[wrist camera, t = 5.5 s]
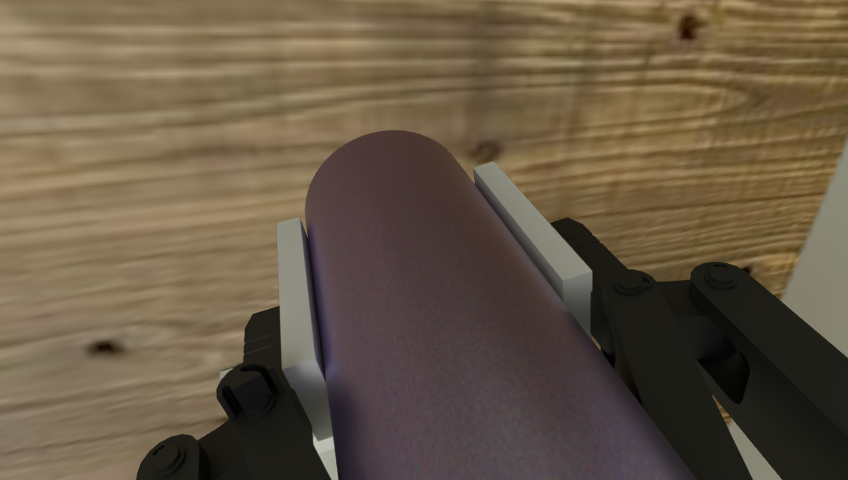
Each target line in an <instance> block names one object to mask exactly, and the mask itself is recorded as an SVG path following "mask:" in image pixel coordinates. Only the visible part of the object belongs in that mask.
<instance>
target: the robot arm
mask: <svg viewBox="0 0 848 480" xmlns="http://www.w3.org/2000/svg"><path fill="white" fill-rule="evenodd" d="M473 173H474V180H475V186H476V187H477V188H478V190H479V191H480V192H481V194H482V195H483V196H484V198H485V199H486V200H487V202H488V203H489V204H490V205H491V207H492V208H493V209H494V211H495V212H496V213H497V215H498V216H499V217H500V219H501V220H502V221H503V223H504V224H505V225H506V227H507V228H508V229H509V231H510V232H511V233H512V235H513V236H514V237H515V239H516V240H517V241H518V243H519V244H520V245H521V247H522V248H523V249H524V251H525V252H526V253H527V255H528V256H529V257H530V259H531V260H532V261H533V263H534V264H535V265H536V267H537V268H538V269H539V270H540V272H541V273H542V274H543V276H544V277H545V278H546V280H547V281H548V282H549V284H550V285H551V286H552V288H553V289H554V290H555V292H556V293H557V294H558V296H559V297H560V298H561V300H562V301H563V302H564V304H565V305H566V306H567V308H568V309H569V310H570V312H571V313H572V314H573V316H574V317H575V318H576V320H577V321H578V322H579V324H580V325H581V326H582V328H583V329H584V330H585V332H586V333H587V334H588V336H589V337H590V338H591V339H592V336H593V337H594V338H595V339H596V341H597V342H598V343H599V345H600V346H601V353H602V354H603V355H604V357H605V358H606V359H607V361H608V362H609V363H610V365H611V366H612V367H613V369H614V370H615V371H616V373H617V374H618V375H619V377H620V378H621V379H622V381H623V382H624V383H625V385H626V386H627V387H628V389H629V390H630V391H631V393H632V394H633V395H634V397H635V398H636V399H637V401H638V402H639V403H640V405H641V406H642V407H643V408H644V410H645V411H646V412H647V414H648V415H649V416H650V418H651V419H652V420H653V422H654V423H655V424H656V426H657V427H658V428H659V430H660V431H661V432H662V434H663V435H664V436H665V438H666V439H667V440H668V442H669V443H670V444H671V446H672V447H673V448H674V450H675V451H676V452H677V454H678V455H679V456H680V458H681V459H682V460H683V462H684V463H685V464H686V466H687V467H688V468H689V470H690V471H691V472H692V473H693V475H694V476H695V477H696V479H697V480H753V479H752V477H751V475H750V473H749V471H748V469H747V467H746V465H745V463H744V461H743V459H742V456H741V454H740V452H739V450H738V448H737V446H736V444H735V442H734V440H733V438H732V436H731V434H730V432H729V430H728V427H727V425H726V423H725V421H724V419H723V417H722V415H721V413H720V411H719V409H718V407H717V405H716V403H715V401H714V399H713V397H712V395H713V396H714V397H715V398H716V400H717V401H718V402H719V403H720V404H721V406H722V407H723V408H724V409H725V411H726V412H727V413H728V414H729V415H730V417H731V418H732V419H733V420H734V422H735V423H736V424H737V425H738V426H739V428H740V429H741V430H742V431H743V432H744V434H745V435H746V436H747V437H748V439H749V440H750V441H751V442H752V443H753V445H754V446H755V447H756V448H757V449H758V451H759V452H760V453H761V454H762V456H763V457H764V458H765V459H766V460H767V462H768V463H769V464H770V465H771V467H772V468H773V469H774V470H775V471H776V473H777V474H778V475H779V476H780V478H781V479H782V480H848V358H847V357H846V356H845V355H844V354H843V353H841V352H840V351H839V350H838V349H837V348H835V347H834V346H833V345H832V344H831V343H830V342H828V341H827V340H826V339H825V338H823V337H822V336H821V335H820V334H819V333H818V332H817V331H815V330H814V329H813V328H812V327H811V326H809V325H808V324H807V323H806V322H805V321H803V320H802V319H801V318H800V317H799V316H798V315H796V314H795V313H794V312H793V311H792V310H791V309H789V308H788V307H787V306H786V305H785V304H783V303H782V302H781V301H780V300H779V299H778V298H776V297H775V296H774V295H773V294H772V293H770V292H769V291H768V290H767V289H766V288H765V287H763V286H762V285H761V284H760V283H759V282H757V281H756V280H755V279H754V278H753V277H752V276H750V275H749V274H748V273H747V272H745V271H744V270H742V269H740V268H739V267H737V266H734V265H731V264H728V263H720V262H710V263H703V264H701V265H699V266H697V267H695V268H694V270H693V271H692V272H691V277H690V280H683V281H669V282H657V281H655V280H654V278H653V277H652V276H650V275H648V274H646V273H644V272H641V271H638V270H634V269H627V268H626V267H625V266H624V265H623V264H622V263H621V262H620V261H619V260H618V259H617V258H616V257H615V256H614V255H613V254H612V253H611V252H610V251H609V250H608V249H607V248H606V247H605V246H604V245H603V244H602V243H600V241H599V240H598V239H597V238H596V237H595V236H593V235H592V233H591V232H590V231H589V230H588V229H587V228H586V227H585V226H584V225H583V224H581V223H579V222H577V221H574V220H572V219H570V218H564V219H561V220H558V221H555V222H551V223H549V222H548V221H547V220H546V219H545V218H544V217H543V216H542V215H541V213H540V212H539V211H538V210H537V209H536V208H535V207H534V206H533V205H532V203H531V202H530V201H529V200H528V199H527V198H526V197H525V196H524V195H523V193H522V192H521V191H520V190H519V189H518V188H517V187H516V186H515V184H514V183H513V182H512V181H511V180H510V179H509V178H508V177H507V176H506V174H505V173H504V172H503V171H502V170H501V169H500V168H499V167H498V166H497V164H496V163H495V162H494V161H493V162H490V163H486V164H483V165H479V166H476V167H473ZM277 244H278V272H279V301H280V306H278V307H274V308H271V309H268V310H265V311H261V312H258V313H255V314H253V315H252V316H251V318H250V320H249V322H248V324H247V325H246V327H245V337H244V342H245V344H244V357H243V363H242V364H239V365H237V366H236V367H234V368H233V369H232V370H230V371H229V372H228V373H227V374H226V375H225V376H224V377H223V378H222V379H221V381H220V383H219V385H218V388H217V399H218V401H219V402H220V404H221V406H222V407H223V409H224V410H225V412H226V414H227V415H228V417H229V419H228V420H227V421H226V422H225V423H224V424H223V425H221V426H220V427H218V428H217V429H215V430H214V431H212V432H211V433H209V434H207V435H206V436H204V437H202V438H201V439H199V440H196V439H195V438H194V437H193V436H190V435H184V434H181V435H177V436H172V437H170V438H168V439H166V440H164V441H162V442H160V443H159V444H158V445H156V446H155V447H154V448H153V449H152V450H150V451H149V453H148V454H147V455H146V457H145V458H144V459H143V461H142V462H141V464H140V467H139V470H138V473H137V478H136V480H331V478H330V476H329V474H328V472H327V470H326V468H325V466H324V464H323V462H322V460H321V458H320V456H319V454H318V452H317V450H316V449H315V447H314V444H313V433H314V435H315V437H316V439H317V441H321V440H324V439H327V438H330V437H333V433H332V425H331V417H330V410H329V402H328V394H327V386H326V378H325V370H324V362H323V354H322V346H321V338H320V330H319V322H318V314H317V306H316V298H315V290H314V282H313V274H312V266H311V258H310V250H309V242H308V238H307V235H306V233H305V230H304V227H303V224H302V222H301V219H300V217H297V218H294V219H290V220H287V221H283V222H280V223H277ZM711 394H712V395H711ZM312 431H313V432H312Z"/></svg>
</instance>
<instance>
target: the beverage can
mask: <svg viewBox="0 0 848 480" xmlns="http://www.w3.org/2000/svg"><path fill="white" fill-rule="evenodd" d="M305 218H306V227H307V234H308V242H309V250H310V258H311V266H312V274H313V282H314V290H315V298H316V306H317V314H318V322H319V330H320V338H321V346H322V354H323V362H324V370H325V378H326V386H327V394H328V402H329V410H330V417H331V425H332V433H333V441H334V449H335V457H336V465H337V473H338V480H697V479H696V477H695V476H694V475H693V473H692V472H691V471H690V470H689V468H688V467H687V466H686V464H685V463H684V462H683V460H682V459H681V458H680V456H679V455H678V454H677V452H676V451H675V450H674V448H673V447H672V446H671V444H670V443H669V442H668V440H667V439H666V438H665V436H664V435H663V434H662V432H661V431H660V430H659V428H658V427H657V426H656V424H655V423H654V422H653V420H652V419H651V418H650V416H649V415H648V414H647V412H646V411H645V410H644V408H643V407H642V406H641V405H640V403H639V402H638V401H637V399H636V398H635V397H634V395H633V394H632V393H631V391H630V390H629V389H628V387H627V386H626V385H625V383H624V382H623V381H622V379H621V378H620V377H619V375H618V374H617V373H616V371H615V370H614V369H613V367H612V366H611V365H610V363H609V362H608V361H607V359H606V358H605V357H604V355H603V354H602V353H601V351H600V350H599V349H598V347H597V346H596V345H595V343H594V342H593V341H592V339H591V338H590V337H589V336H588V334H587V333H586V332H585V330H584V329H583V328H582V326H581V325H580V324H579V322H578V321H577V320H576V318H575V317H574V316H573V314H572V313H571V312H570V310H569V309H568V308H567V306H566V305H565V304H564V302H563V301H562V300H561V298H560V297H559V296H558V294H557V293H556V292H555V290H554V289H553V288H552V286H551V285H550V284H549V282H548V281H547V280H546V278H545V277H544V276H543V274H542V273H541V272H540V270H539V269H538V268H537V267H536V265H535V264H534V263H533V261H532V260H531V259H530V257H529V256H528V255H527V253H526V252H525V251H524V249H523V248H522V247H521V245H520V244H519V243H518V241H517V240H516V239H515V237H514V236H513V235H512V233H511V232H510V231H509V229H508V228H507V227H506V225H505V224H504V223H503V221H502V220H501V219H500V217H499V216H498V215H497V213H496V212H495V211H494V209H493V208H492V207H491V205H490V204H489V203H488V202H487V200H486V199H485V198H484V196H483V195H482V194H481V192H480V191H479V190H478V188H477V187H476V186H475V184H474V183H473V182H472V180H471V179H470V178H469V176H468V175H467V174H466V172H465V171H464V170H463V168H462V167H461V166H460V164H459V163H458V162H457V160H456V159H455V158H454V157H453V155H452V154H451V153H450V152H449V151H448V150H447V149H446V148H444V147H443V146H442V145H441V144H439V143H438V142H436V141H434V140H432V139H431V138H428V137H426V136H424V135H421V134H417V133H413V132H408V131H400V130H389V131H380V132H374V133H370V134H367V135H364V136H361V137H358V138H356V139H354V140H352V141H350V142H348V143H347V144H345V145H343V146H342V147H340V148H339V149H338V150H336V151H335V152H334V153H333V154H332V155H331V156H329V157H328V158H327V159H326V161H325V162H324V163H323V164H322V165H321V167H320V168H319V169H318V171H317V172H316V174H315V176H314V178H313V180H312V182H311V184H310V187H309V189H308V193H307V197H306V203H305Z"/></svg>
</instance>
